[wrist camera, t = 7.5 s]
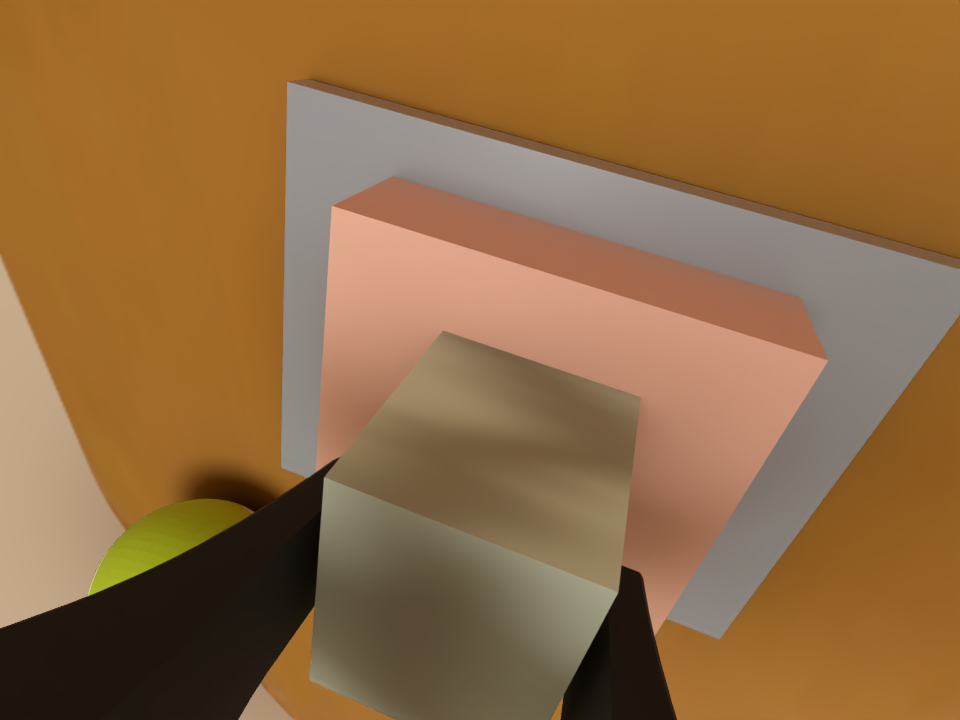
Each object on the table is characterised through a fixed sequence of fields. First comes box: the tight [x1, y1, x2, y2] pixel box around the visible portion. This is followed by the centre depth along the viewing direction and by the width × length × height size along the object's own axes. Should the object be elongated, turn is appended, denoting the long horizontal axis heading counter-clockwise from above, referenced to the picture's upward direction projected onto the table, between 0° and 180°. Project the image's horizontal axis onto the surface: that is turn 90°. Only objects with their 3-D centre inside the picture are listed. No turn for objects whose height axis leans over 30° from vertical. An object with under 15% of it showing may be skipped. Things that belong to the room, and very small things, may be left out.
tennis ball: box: [87, 499, 254, 596], centre depth 22 cm, size 7×7×7 cm
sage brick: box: [309, 331, 641, 720], centre depth 12 cm, size 4×6×5 cm
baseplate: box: [281, 79, 960, 639], centre depth 17 cm, size 16×13×1 cm
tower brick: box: [316, 176, 829, 636], centre depth 15 cm, size 10×10×3 cm
